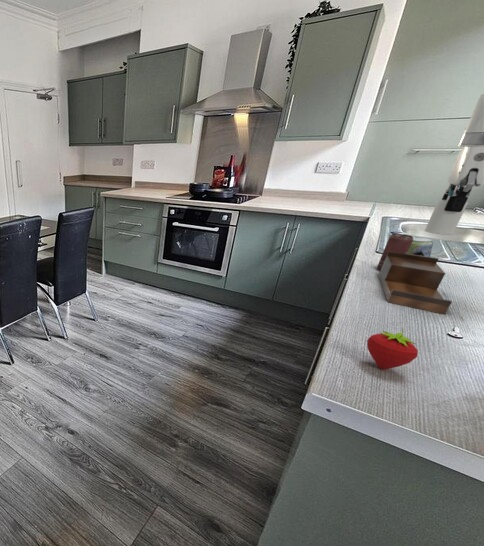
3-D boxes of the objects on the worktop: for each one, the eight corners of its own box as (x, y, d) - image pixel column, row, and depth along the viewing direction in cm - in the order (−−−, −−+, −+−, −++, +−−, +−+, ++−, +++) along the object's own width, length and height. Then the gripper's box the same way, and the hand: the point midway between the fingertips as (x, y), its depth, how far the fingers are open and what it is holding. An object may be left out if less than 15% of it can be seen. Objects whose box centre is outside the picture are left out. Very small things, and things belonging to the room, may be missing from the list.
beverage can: (429, 273, 115) (444, 242, 111) (404, 270, 118) (417, 240, 113) (419, 267, 121) (433, 237, 116) (395, 264, 123) (408, 235, 119)
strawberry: (359, 354, 71) (376, 316, 67) (405, 369, 66) (426, 330, 62) (357, 366, 67) (374, 327, 63) (406, 384, 62) (428, 342, 58)
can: (384, 267, 121) (399, 232, 115) (402, 273, 115) (419, 237, 109) (371, 268, 120) (385, 233, 114) (389, 274, 114) (405, 238, 108)
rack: (425, 284, 106) (437, 258, 103) (445, 314, 87) (461, 284, 84) (378, 275, 113) (388, 250, 109) (387, 302, 94) (400, 273, 90)
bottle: (449, 232, 91) (470, 190, 87) (455, 236, 87) (476, 192, 83) (422, 229, 95) (440, 188, 90) (426, 232, 91) (445, 190, 86)
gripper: (518, 140, 73) (479, 216, 80) (492, 141, 85) (460, 206, 92) (470, 140, 77) (437, 212, 84) (451, 141, 90) (424, 203, 97)
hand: (449, 208), depth 88 cm, fingers closed on bottle, 5 cm apart
